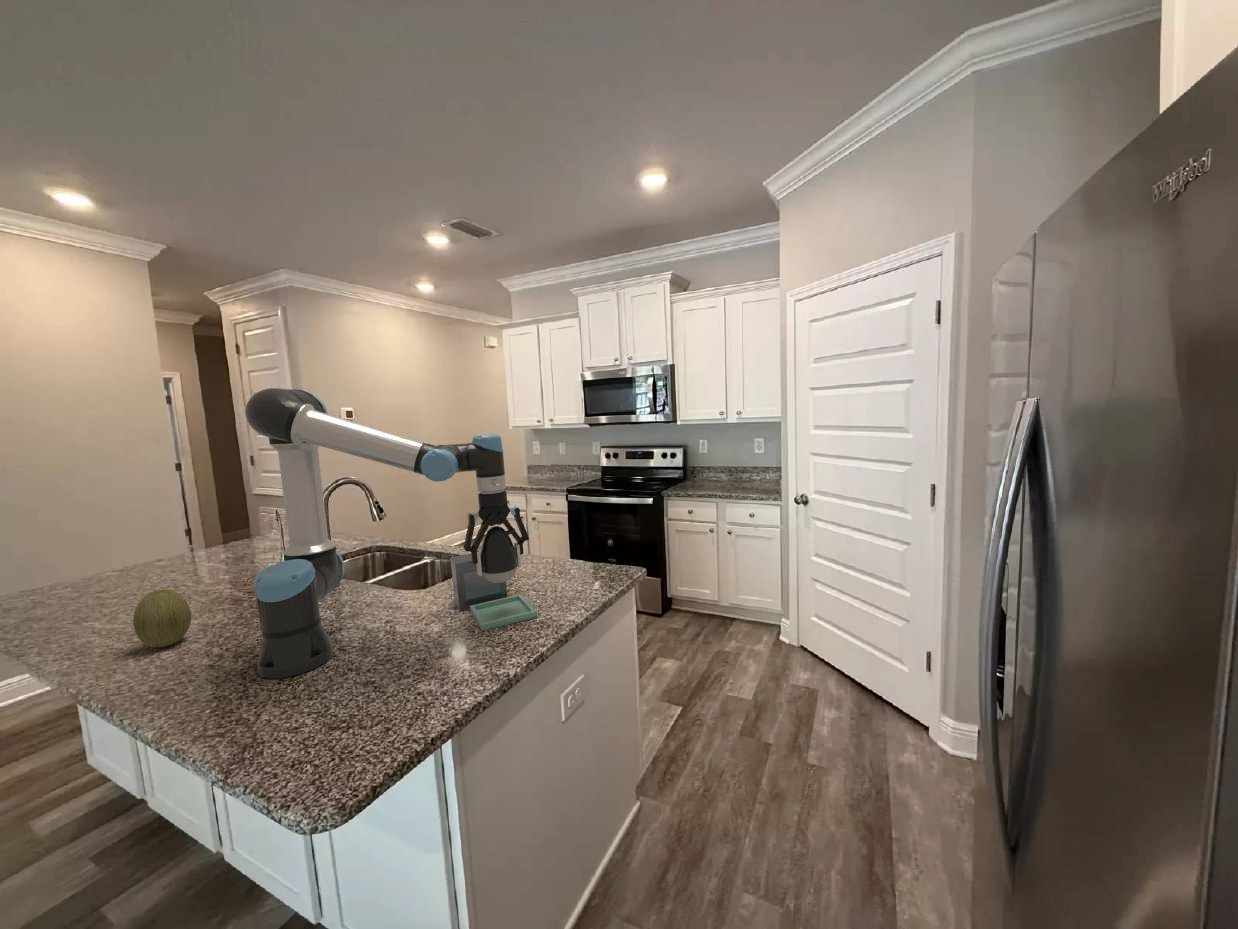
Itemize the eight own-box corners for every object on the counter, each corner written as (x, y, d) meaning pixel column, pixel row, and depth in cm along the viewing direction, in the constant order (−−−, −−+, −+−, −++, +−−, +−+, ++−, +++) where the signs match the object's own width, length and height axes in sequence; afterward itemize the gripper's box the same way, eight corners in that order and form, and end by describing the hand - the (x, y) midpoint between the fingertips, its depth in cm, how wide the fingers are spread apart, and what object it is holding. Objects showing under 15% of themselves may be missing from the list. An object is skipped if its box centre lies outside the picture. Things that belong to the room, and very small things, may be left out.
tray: (482, 631, 129) (481, 625, 129) (470, 612, 142) (469, 606, 142) (537, 617, 136) (536, 611, 136) (521, 599, 149) (520, 594, 149)
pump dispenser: (515, 585, 133) (510, 530, 131) (476, 587, 133) (471, 532, 131) (523, 572, 143) (518, 520, 141) (487, 574, 143) (482, 522, 141)
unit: (459, 611, 143) (455, 564, 141) (454, 601, 150) (450, 557, 149) (507, 600, 149) (504, 555, 147) (500, 591, 157) (496, 548, 155)
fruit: (202, 639, 134) (193, 586, 132) (147, 659, 124) (137, 601, 122) (185, 631, 139) (176, 580, 138) (131, 649, 130) (121, 595, 128)
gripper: (451, 499, 126) (459, 583, 129) (536, 487, 137) (543, 565, 139) (446, 495, 133) (454, 575, 135) (528, 484, 143) (534, 558, 146)
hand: (499, 570), depth 137 cm, fingers closed on pump dispenser, 10 cm apart
